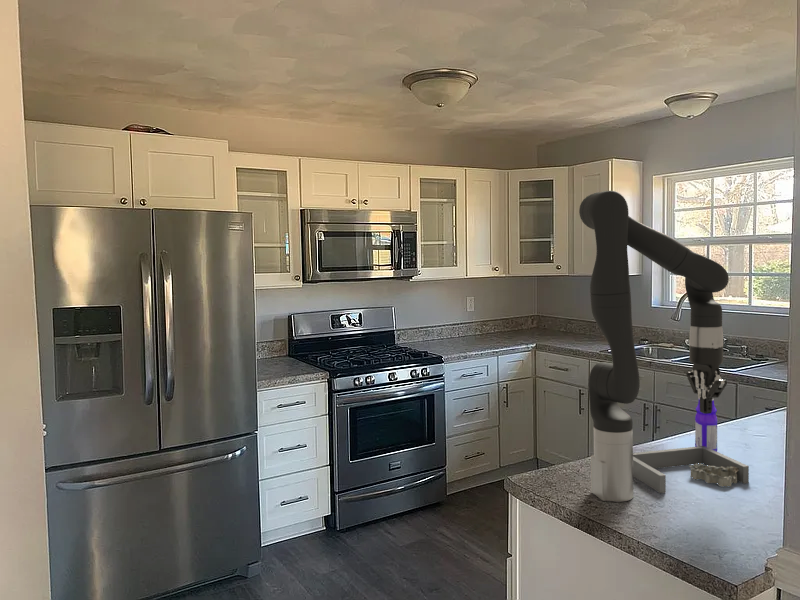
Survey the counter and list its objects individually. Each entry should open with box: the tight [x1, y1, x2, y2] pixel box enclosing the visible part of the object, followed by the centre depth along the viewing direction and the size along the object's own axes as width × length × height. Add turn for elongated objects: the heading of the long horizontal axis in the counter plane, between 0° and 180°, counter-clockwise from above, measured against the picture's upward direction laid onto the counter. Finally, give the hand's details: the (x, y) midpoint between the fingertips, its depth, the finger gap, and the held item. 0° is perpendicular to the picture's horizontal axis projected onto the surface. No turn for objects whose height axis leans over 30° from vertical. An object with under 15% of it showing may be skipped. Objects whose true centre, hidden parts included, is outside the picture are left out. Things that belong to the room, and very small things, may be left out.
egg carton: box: [688, 463, 739, 488], centre depth 163 cm, size 11×8×4 cm
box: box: [633, 446, 750, 494], centre depth 166 cm, size 25×18×4 cm
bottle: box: [694, 397, 719, 452], centre depth 183 cm, size 7×6×17 cm
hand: (705, 412), depth 155 cm, fingers closed
